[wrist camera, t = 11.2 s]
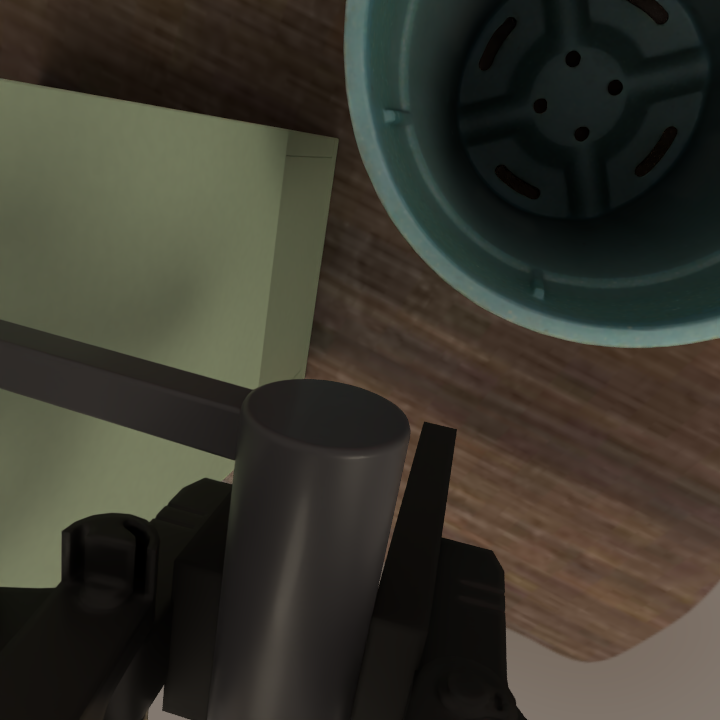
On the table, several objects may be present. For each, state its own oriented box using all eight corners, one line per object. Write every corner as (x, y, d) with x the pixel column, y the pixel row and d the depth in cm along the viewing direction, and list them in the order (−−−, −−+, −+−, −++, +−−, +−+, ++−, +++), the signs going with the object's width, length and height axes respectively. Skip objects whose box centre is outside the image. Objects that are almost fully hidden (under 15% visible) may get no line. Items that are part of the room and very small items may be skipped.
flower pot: (477, 311, 35) (474, 424, 20) (356, 19, 31) (241, -114, 16) (798, 184, 30) (1118, 206, 15) (695, -174, 27) (972, -612, 12)
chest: (39, 318, 40) (-96, 365, 31) (37, 86, 36) (-122, 58, 26) (304, 377, 38) (246, 448, 29) (339, 138, 33) (283, 128, 24)
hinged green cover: (-265, 882, 11) (234, 1178, 9) (-494, -10, 6) (430, 149, 4) (235, 450, 28) (444, 513, 26) (270, 126, 24) (527, 170, 21)
